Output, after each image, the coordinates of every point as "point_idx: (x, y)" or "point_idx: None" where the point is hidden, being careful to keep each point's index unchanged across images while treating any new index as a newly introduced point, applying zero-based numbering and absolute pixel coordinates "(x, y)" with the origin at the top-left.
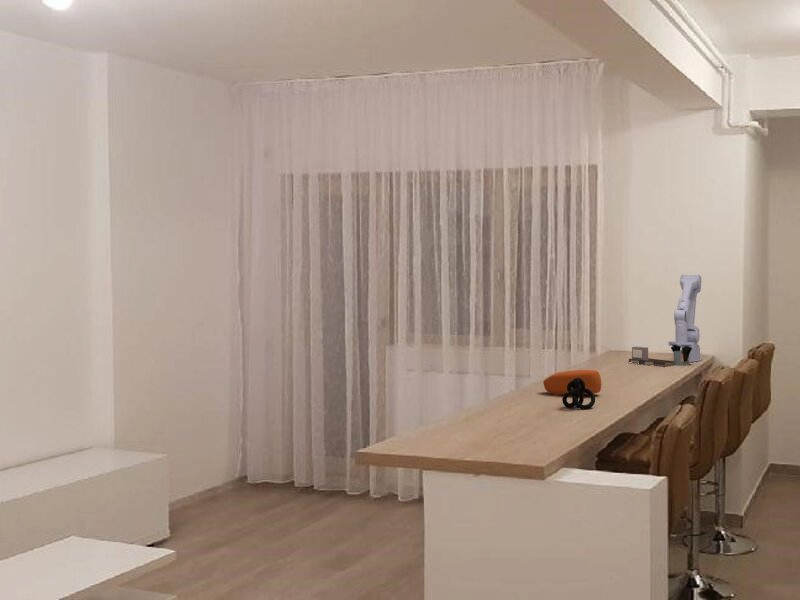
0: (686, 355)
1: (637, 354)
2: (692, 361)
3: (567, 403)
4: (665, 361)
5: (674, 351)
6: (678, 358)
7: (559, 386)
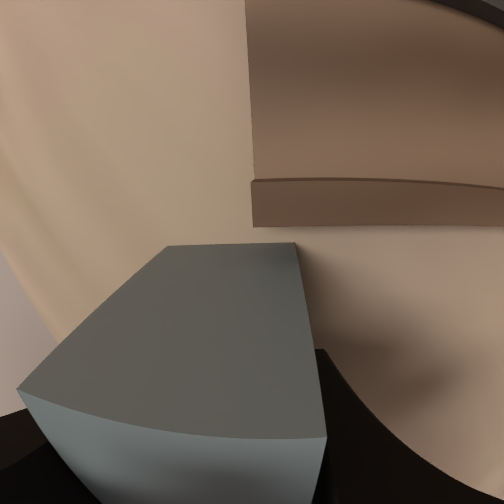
0: None
1: None
2: None
3: None
4: (429, 182)
5: (277, 434)
6: (160, 295)
7: None
